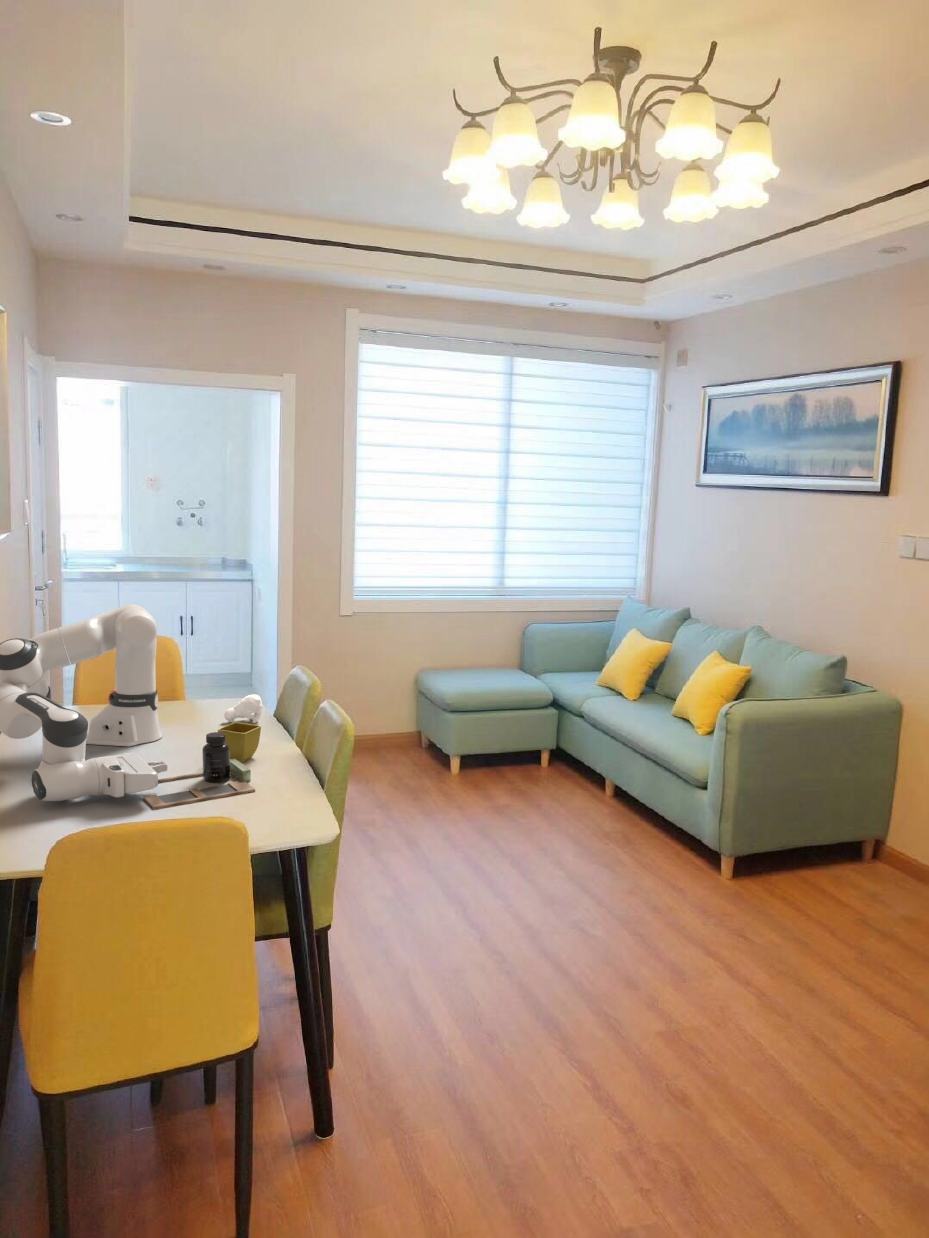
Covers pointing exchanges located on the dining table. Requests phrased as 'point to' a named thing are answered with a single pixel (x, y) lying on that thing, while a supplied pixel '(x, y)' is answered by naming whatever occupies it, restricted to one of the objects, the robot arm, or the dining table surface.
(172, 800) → the board
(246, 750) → the flower pot
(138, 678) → the robot arm
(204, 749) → the supplement bottle
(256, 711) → the white lumpy piece
